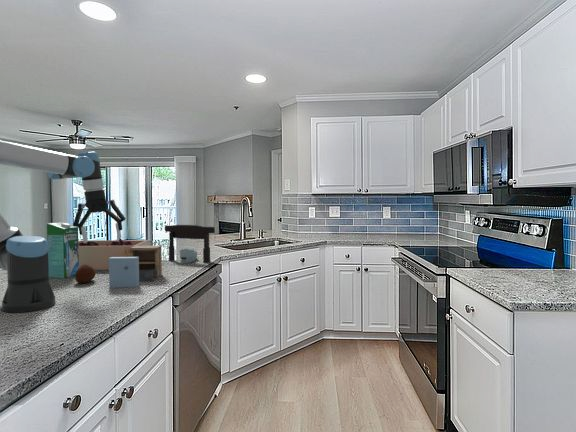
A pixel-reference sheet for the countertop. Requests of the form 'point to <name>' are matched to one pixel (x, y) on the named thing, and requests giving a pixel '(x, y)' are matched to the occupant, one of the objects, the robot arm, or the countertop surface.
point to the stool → (189, 233)
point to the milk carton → (62, 249)
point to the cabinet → (148, 261)
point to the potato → (84, 274)
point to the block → (123, 271)
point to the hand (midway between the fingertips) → (102, 240)
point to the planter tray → (104, 252)
